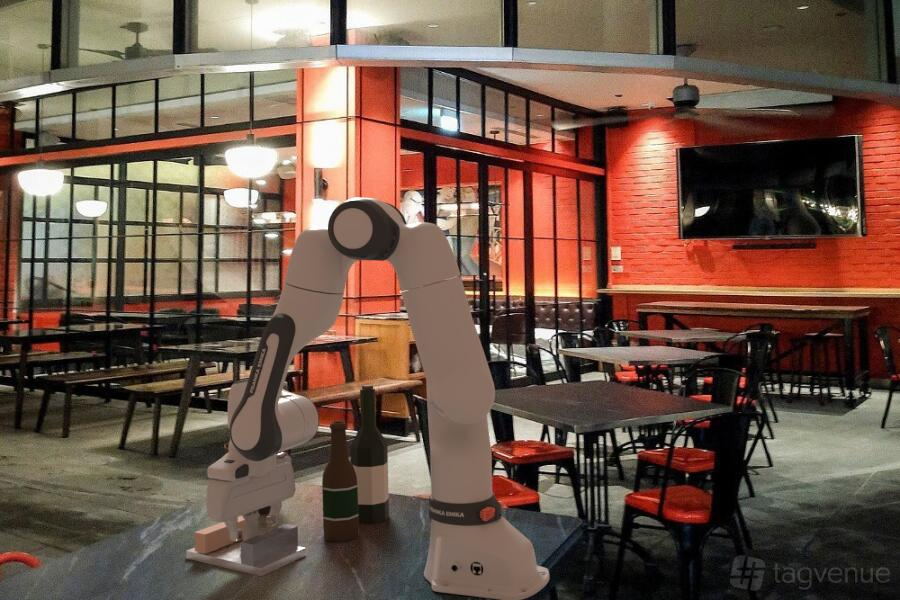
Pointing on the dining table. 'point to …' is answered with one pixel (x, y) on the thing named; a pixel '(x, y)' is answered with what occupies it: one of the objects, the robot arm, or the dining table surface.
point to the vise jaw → (216, 536)
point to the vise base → (235, 559)
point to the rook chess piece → (251, 525)
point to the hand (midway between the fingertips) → (254, 532)
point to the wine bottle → (370, 463)
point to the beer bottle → (339, 490)
